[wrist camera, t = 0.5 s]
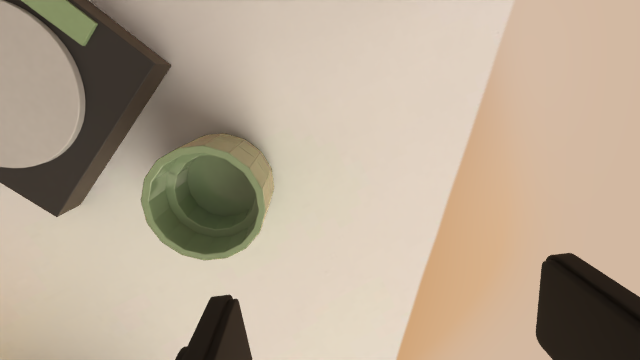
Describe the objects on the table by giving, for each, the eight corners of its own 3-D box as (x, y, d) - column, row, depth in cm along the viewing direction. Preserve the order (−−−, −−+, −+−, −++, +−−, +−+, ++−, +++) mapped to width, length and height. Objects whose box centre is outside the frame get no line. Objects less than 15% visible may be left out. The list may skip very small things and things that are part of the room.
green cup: (212, 111, 23) (184, 120, 18) (293, 173, 24) (289, 197, 19) (158, 187, 24) (118, 215, 19) (237, 241, 26) (220, 279, 21)
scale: (-17, -81, 19) (-75, -110, 16) (171, 65, 22) (150, 63, 19) (-96, 93, 22) (-158, 95, 19) (80, 204, 24) (50, 221, 22)
